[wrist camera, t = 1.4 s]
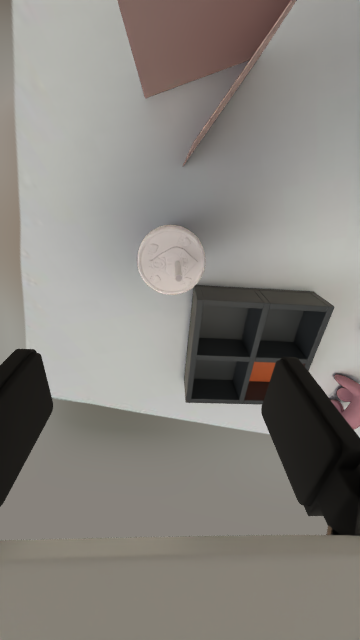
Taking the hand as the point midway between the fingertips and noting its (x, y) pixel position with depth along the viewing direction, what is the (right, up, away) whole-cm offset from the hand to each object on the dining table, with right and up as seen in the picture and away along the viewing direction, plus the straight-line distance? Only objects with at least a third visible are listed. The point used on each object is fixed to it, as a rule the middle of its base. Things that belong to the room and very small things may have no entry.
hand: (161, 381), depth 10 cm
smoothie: (0, +12, +21) cm, 24 cm away
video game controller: (+29, -11, +35) cm, 46 cm away
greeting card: (+4, +24, +15) cm, 28 cm away
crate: (+11, -1, +28) cm, 30 cm away
